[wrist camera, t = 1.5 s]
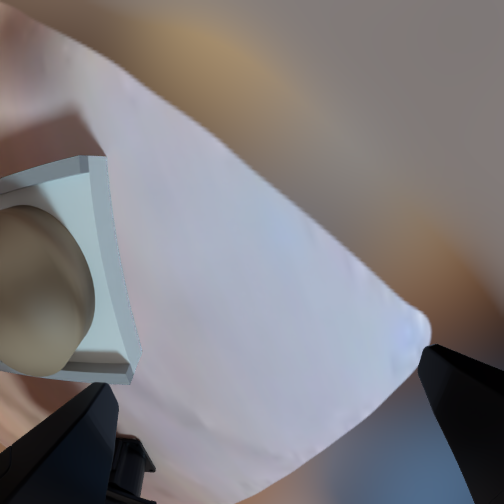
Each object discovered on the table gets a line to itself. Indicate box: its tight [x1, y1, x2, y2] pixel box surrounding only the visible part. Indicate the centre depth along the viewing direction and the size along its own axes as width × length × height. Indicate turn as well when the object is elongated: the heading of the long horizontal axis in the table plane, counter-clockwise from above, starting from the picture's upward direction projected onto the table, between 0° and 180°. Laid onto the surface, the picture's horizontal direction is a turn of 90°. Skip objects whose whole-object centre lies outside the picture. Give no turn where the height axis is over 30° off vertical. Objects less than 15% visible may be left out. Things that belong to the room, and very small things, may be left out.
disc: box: [0, 205, 95, 377], centre depth 15 cm, size 11×11×4 cm
